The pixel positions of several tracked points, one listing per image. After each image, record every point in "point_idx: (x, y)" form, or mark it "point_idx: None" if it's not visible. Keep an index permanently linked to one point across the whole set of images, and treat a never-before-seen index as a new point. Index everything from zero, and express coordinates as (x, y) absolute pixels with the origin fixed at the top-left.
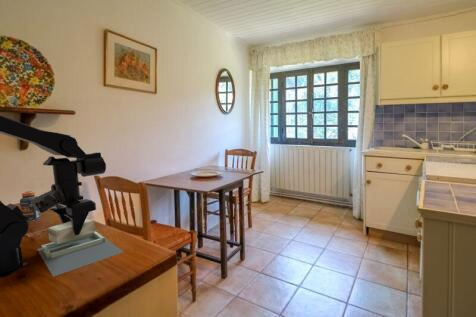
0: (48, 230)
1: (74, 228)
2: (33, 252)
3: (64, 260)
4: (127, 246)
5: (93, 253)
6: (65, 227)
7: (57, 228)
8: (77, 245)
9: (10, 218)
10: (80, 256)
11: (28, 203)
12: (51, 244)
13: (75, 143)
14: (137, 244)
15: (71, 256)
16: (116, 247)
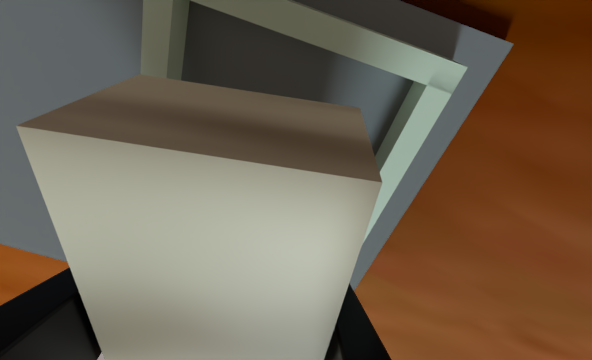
0: (357, 157)
1: (51, 279)
2: (513, 6)
3: (30, 8)
4: (23, 269)
5: (18, 160)
6: (117, 263)
7: (166, 210)
8: None
9: None
10: (24, 102)
11: None
12: (400, 125)
13: None
14: (14, 291)
15: (75, 77)
16: (14, 244)
